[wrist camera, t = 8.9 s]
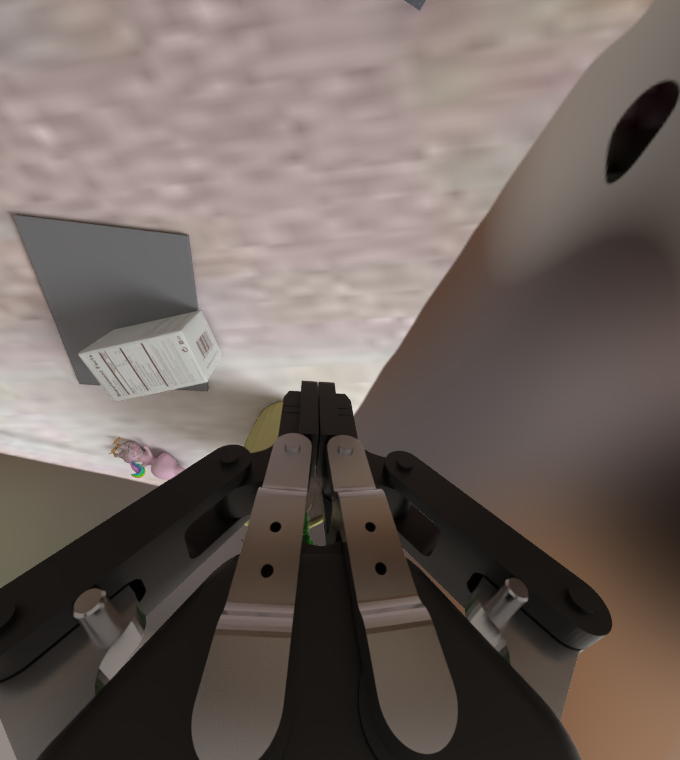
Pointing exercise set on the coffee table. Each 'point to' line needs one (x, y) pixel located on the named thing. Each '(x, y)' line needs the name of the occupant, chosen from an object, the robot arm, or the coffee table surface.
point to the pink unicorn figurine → (147, 461)
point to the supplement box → (154, 356)
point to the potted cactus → (264, 438)
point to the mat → (107, 279)
